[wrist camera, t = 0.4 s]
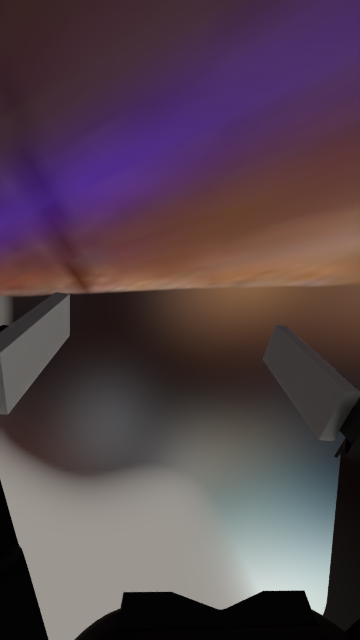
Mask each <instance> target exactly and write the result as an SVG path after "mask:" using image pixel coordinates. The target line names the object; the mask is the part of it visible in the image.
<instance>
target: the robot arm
mask: <svg viewBox="0 0 360 640" xmlns="http://www.w3.org/2000/svg"><path fill="white" fill-rule="evenodd" d="M69 303H70V295H69V294H64V293H57V292H56V293H54V294H53V295H52V296H50V297H49V298H47V299H46V300H45V301H44V302H42V303H40V304H39V305H38V306H36V307H35V308H34V309H32V310H31V311H29V312H28V313H27V314H25V315H24V316H22V317H21V318H20V319H18V320H17V321H16V322H14V323H13V324H11V325H10V326H7V325H2V326H0V414H6V415H8V414H9V412H10V411H11V410H12V408H13V407H14V406H15V405H16V403H17V402H18V401H19V399H20V398H21V397H22V396H23V394H24V393H25V392H26V391H27V389H28V388H29V387H30V385H31V384H32V383H33V382H34V380H35V379H36V378H37V376H38V375H39V374H40V373H41V371H42V370H43V369H44V367H45V366H46V365H47V364H48V362H49V361H50V360H51V358H52V357H53V356H54V355H55V353H56V352H57V351H58V350H59V348H60V347H61V345H62V344H63V343H64V342H65V341H66V339H67V338H68V337H69V328H70V325H69V323H70V313H69V312H70V304H69ZM263 360H264V362H265V363H266V365H267V366H268V368H269V369H270V370H271V372H272V373H273V375H274V376H275V378H276V379H277V381H278V382H279V383H280V385H281V386H282V388H283V389H284V391H285V392H286V394H287V395H288V396H289V398H290V399H291V401H292V402H293V404H294V405H295V406H296V408H297V409H298V411H299V412H300V414H301V415H302V416H303V418H304V419H305V421H306V422H307V424H308V425H309V426H310V428H311V429H312V431H313V432H314V434H315V435H316V437H317V438H318V439H319V440H327V441H334V440H335V438H336V437H337V434H338V433H339V431H341V433H342V434H343V435H344V436H345V437H346V438H345V440H344V441H343V443H342V445H341V446H340V448H339V449H338V451H337V453H336V454H335V457H338V456H339V455H341V458H340V468H339V478H338V489H337V500H336V511H335V523H334V533H333V544H332V554H331V565H330V575H329V586H328V597H327V604H326V608H325V611H324V614H323V615H321V614H319V613H317V612H315V611H313V610H311V607H310V605H309V602H308V600H307V597H306V594H305V591H262V592H260V593H258V594H256V595H254V596H252V597H250V598H248V599H246V600H243V601H241V602H239V603H237V604H235V605H233V606H230V607H228V608H226V609H223V610H218V609H215V608H213V607H210V606H207V605H204V604H202V603H199V602H197V601H194V600H192V599H189V598H186V597H184V596H181V595H178V594H175V593H173V592H124V593H123V598H122V604H121V608H120V609H118V610H116V611H113V612H111V613H109V614H107V615H105V616H103V617H102V618H100V619H99V620H97V621H95V622H94V623H93V624H92V625H90V626H89V627H88V628H87V629H86V630H84V631H83V632H82V633H81V634H80V635H79V636H78V637H77V638H76V639H75V640H360V391H359V390H358V389H357V388H356V387H355V386H354V385H353V384H351V383H350V382H349V381H348V380H347V379H345V377H344V376H342V375H341V374H340V373H339V372H338V371H337V370H335V369H334V368H333V367H332V366H331V365H329V364H328V363H327V362H326V361H325V360H324V359H323V358H322V357H320V356H319V355H318V354H317V353H316V352H315V351H314V350H312V349H311V348H310V347H309V346H308V345H307V344H306V343H305V342H304V341H303V340H301V339H300V338H299V337H298V336H297V335H296V334H295V333H294V332H292V331H291V330H290V329H289V328H288V327H287V326H282V325H275V328H274V331H273V334H272V336H271V339H270V342H269V344H268V347H267V350H266V353H265V355H264V358H263ZM0 640H48V636H47V633H46V630H45V626H44V623H43V619H42V615H41V612H40V608H39V605H38V602H37V598H36V595H35V591H34V588H33V584H32V581H31V577H30V574H29V571H28V567H27V564H26V560H25V557H24V554H23V551H22V549H21V547H20V546H19V544H18V541H17V537H16V534H15V530H14V527H13V523H12V520H11V516H10V513H9V509H8V506H7V502H6V498H5V495H4V492H3V488H2V485H1V481H0Z"/></svg>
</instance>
